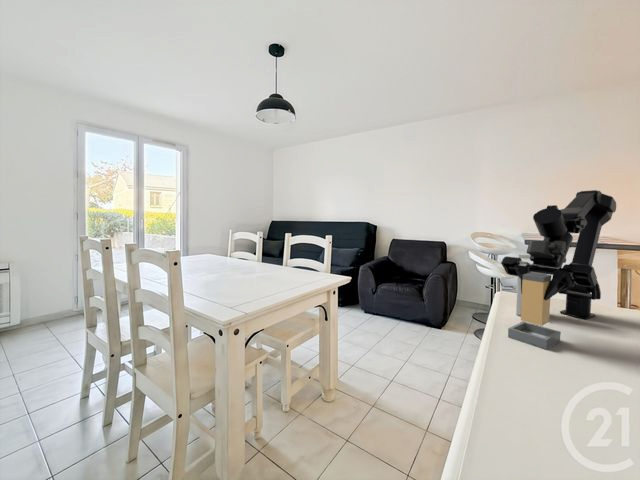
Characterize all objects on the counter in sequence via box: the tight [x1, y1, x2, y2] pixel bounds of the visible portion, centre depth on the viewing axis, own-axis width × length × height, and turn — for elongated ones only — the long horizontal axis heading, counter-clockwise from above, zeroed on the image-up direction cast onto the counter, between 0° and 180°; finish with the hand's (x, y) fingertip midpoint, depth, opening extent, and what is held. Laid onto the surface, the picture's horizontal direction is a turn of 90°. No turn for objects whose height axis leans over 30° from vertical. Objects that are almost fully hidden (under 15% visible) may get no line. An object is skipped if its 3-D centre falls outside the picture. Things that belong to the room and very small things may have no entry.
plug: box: [520, 272, 552, 327], centre depth 69 cm, size 4×4×12 cm
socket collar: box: [507, 321, 561, 350], centre depth 70 cm, size 8×8×2 cm
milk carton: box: [515, 254, 548, 317], centre depth 86 cm, size 7×7×19 cm
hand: (533, 296), depth 69 cm, fingers closed on plug, 4 cm apart
